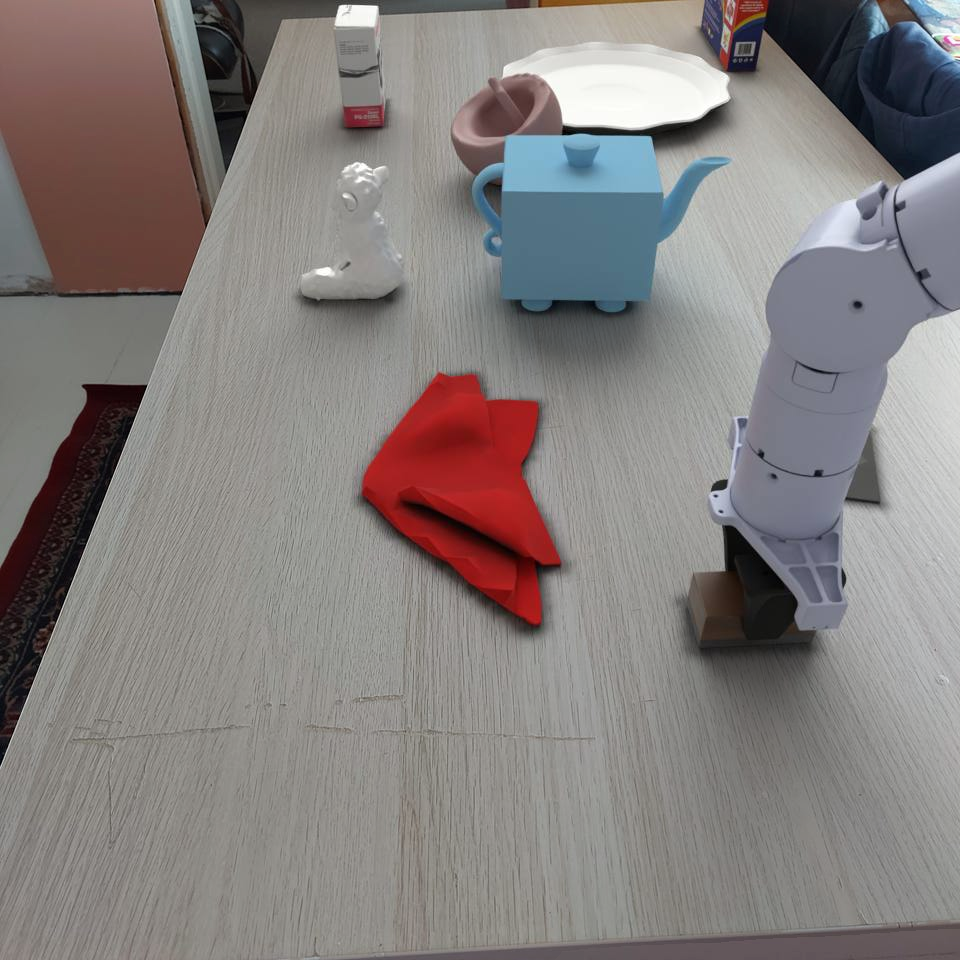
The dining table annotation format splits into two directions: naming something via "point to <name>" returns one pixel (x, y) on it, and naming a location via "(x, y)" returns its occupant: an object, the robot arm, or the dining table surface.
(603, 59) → the plate
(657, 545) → the dining table surface
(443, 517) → the cloth
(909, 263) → the robot arm
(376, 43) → the ink box
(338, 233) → the seated beast figurine
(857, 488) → the dark grey flat slab
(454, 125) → the mortar and pestle
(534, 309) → the teapot
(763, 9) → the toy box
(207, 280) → the dining table surface
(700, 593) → the eraser
